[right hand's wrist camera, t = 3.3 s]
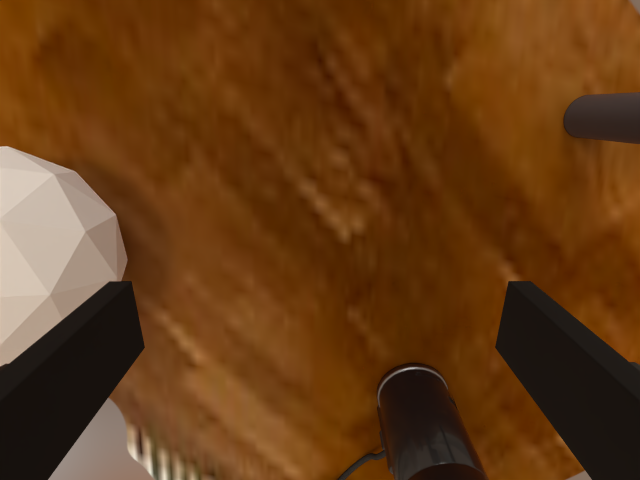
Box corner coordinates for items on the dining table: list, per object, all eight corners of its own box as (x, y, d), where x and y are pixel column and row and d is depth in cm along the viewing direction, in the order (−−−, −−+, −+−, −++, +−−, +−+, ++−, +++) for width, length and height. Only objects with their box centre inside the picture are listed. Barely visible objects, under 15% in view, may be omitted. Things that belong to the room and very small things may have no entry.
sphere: (84, 172, 45) (-56, 45, 26) (188, 283, 43) (117, 232, 24) (-65, 275, 40) (-375, 210, 21) (44, 409, 38) (-195, 473, 19)
